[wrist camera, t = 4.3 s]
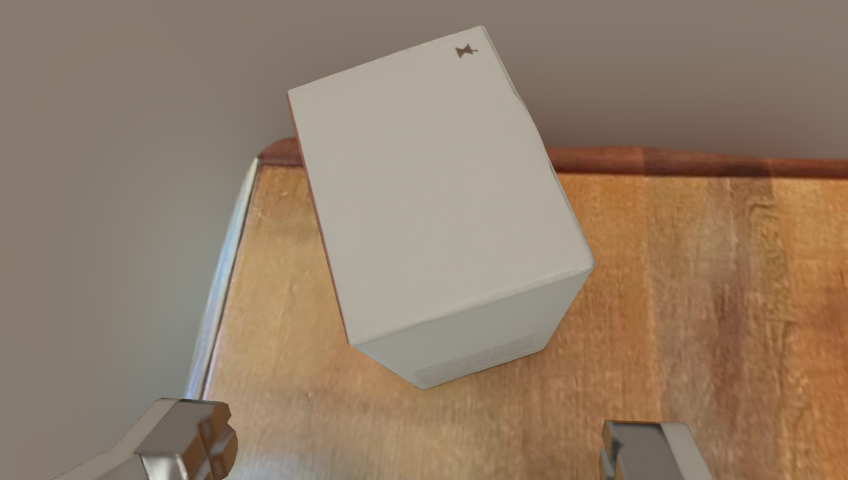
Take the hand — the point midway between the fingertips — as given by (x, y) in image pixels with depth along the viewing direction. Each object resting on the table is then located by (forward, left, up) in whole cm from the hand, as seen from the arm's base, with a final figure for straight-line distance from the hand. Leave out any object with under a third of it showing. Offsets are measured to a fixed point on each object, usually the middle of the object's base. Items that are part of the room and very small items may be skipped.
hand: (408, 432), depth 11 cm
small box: (0, +7, -13) cm, 15 cm away
